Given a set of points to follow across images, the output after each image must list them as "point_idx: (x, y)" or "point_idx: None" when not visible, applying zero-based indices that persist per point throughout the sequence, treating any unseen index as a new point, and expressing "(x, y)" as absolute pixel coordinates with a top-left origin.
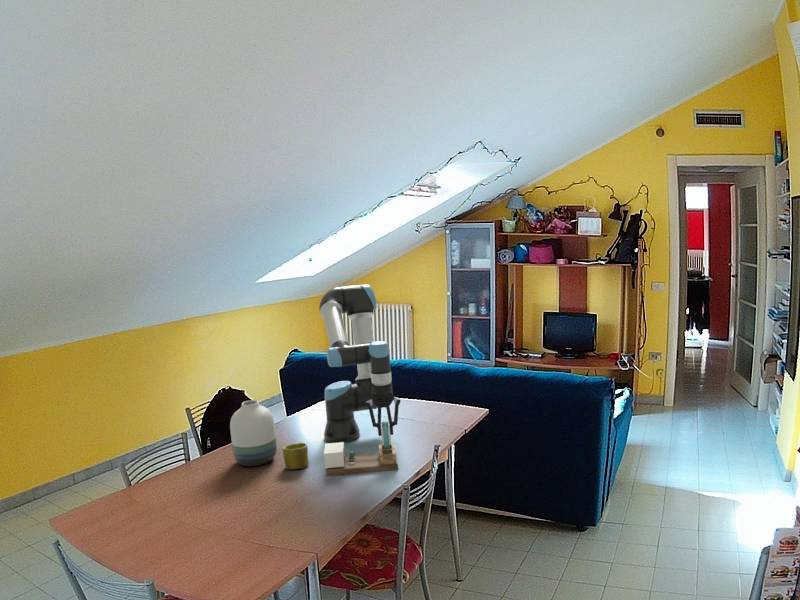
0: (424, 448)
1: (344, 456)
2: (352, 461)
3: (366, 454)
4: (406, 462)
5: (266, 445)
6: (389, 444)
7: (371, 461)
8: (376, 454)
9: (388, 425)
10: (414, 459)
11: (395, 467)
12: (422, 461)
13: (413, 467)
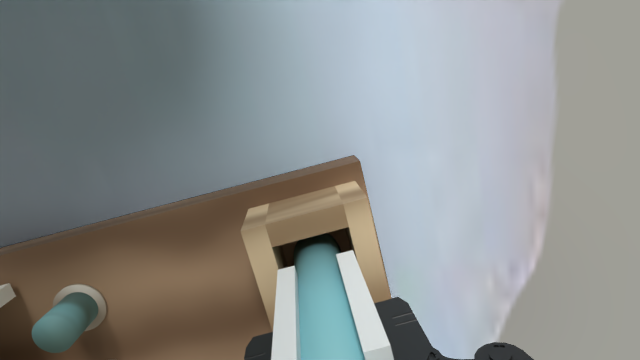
0: (527, 21)
1: (10, 298)
2: (102, 344)
3: (158, 231)
4: (430, 250)
5: None
6: None
7: (231, 336)
8: (232, 228)
9: (377, 354)
10: (473, 206)
11: None
12: (521, 233)
13: (476, 312)
